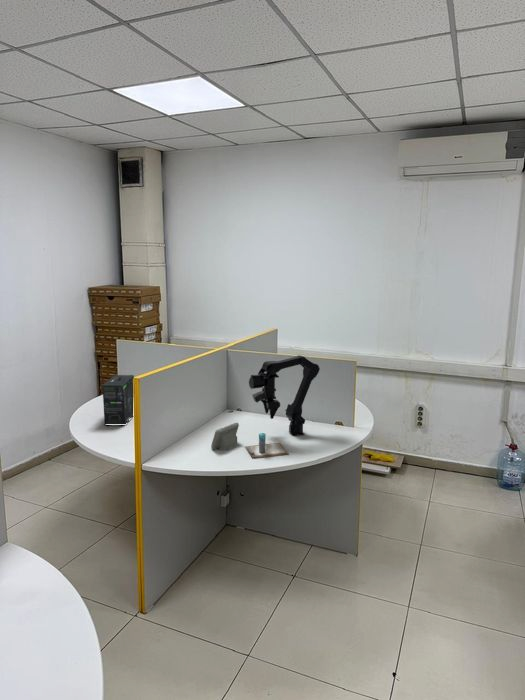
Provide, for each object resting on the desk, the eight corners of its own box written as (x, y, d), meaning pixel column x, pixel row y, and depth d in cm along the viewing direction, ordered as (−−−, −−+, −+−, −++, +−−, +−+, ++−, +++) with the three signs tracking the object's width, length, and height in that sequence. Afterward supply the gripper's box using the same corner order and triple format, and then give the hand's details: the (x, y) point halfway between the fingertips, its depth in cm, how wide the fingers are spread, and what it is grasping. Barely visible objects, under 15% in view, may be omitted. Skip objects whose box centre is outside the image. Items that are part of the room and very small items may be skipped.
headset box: (125, 426, 267) (123, 381, 262) (104, 426, 267) (101, 380, 262) (136, 413, 289) (134, 371, 284) (116, 413, 289) (114, 371, 284)
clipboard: (279, 443, 242) (279, 440, 241) (289, 454, 228) (289, 451, 228) (245, 447, 237) (245, 444, 236) (252, 458, 223) (252, 455, 223)
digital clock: (233, 439, 247) (233, 419, 245) (244, 444, 241) (244, 424, 239) (206, 447, 237) (206, 426, 235) (217, 453, 230) (217, 431, 228)
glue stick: (264, 450, 231) (264, 432, 229) (266, 453, 228) (266, 435, 226) (258, 451, 230) (258, 433, 228) (259, 454, 227) (259, 435, 225)
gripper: (249, 383, 251) (249, 411, 254) (258, 392, 233) (258, 423, 236) (269, 381, 254) (269, 410, 257) (280, 390, 236) (280, 421, 239)
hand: (269, 415), depth 247 cm, fingers open, 9 cm apart
